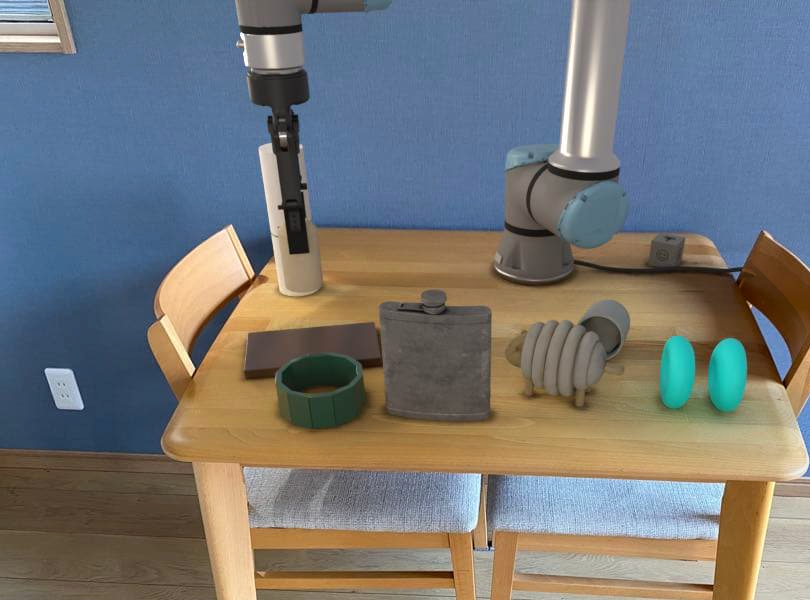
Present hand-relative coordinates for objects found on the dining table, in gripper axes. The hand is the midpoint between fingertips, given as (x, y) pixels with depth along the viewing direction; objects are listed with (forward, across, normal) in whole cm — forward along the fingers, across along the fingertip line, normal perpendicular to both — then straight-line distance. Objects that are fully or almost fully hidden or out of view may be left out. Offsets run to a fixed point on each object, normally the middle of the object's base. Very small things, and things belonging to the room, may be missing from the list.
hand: (299, 244), depth 107 cm
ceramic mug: (+18, +7, +43) cm, 47 cm away
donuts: (+18, +25, +52) cm, 60 cm away
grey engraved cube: (+18, -23, +68) cm, 74 cm away
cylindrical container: (+18, -25, -2) cm, 31 cm away
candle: (+7, 0, 0) cm, 7 cm away
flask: (+18, +20, +16) cm, 32 cm away
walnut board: (+18, 0, 0) cm, 18 cm away
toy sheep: (+18, +19, +34) cm, 43 cm away
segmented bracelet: (+18, +15, +1) cm, 23 cm away
